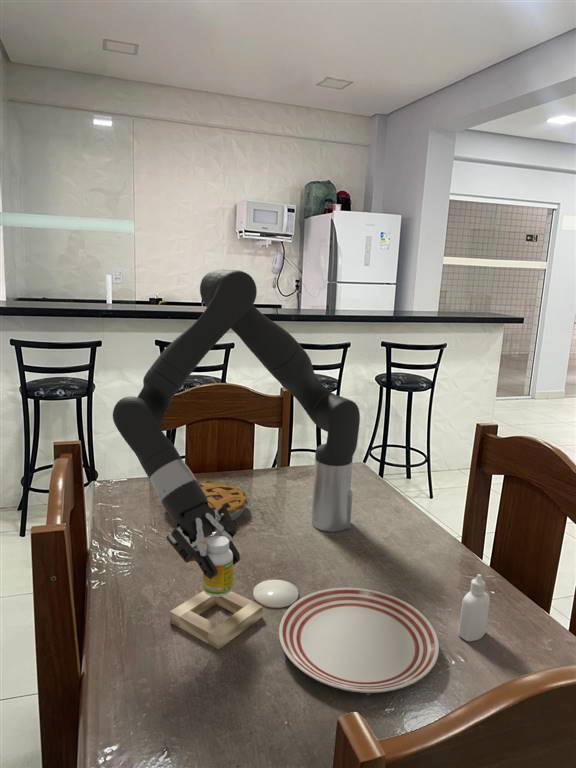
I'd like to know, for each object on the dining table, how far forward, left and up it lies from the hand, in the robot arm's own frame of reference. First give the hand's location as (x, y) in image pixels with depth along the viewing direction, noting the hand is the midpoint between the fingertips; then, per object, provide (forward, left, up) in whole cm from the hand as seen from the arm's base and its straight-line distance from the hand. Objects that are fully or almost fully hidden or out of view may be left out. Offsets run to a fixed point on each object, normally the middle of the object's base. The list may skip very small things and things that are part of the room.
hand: (225, 569), depth 105 cm
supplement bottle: (+1, -1, -5) cm, 5 cm away
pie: (+2, -48, -11) cm, 49 cm away
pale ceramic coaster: (-11, -8, -11) cm, 17 cm away
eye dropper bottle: (-45, +8, -11) cm, 47 cm away
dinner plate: (-23, +9, -11) cm, 27 cm away
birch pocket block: (+1, -1, -11) cm, 11 cm away
